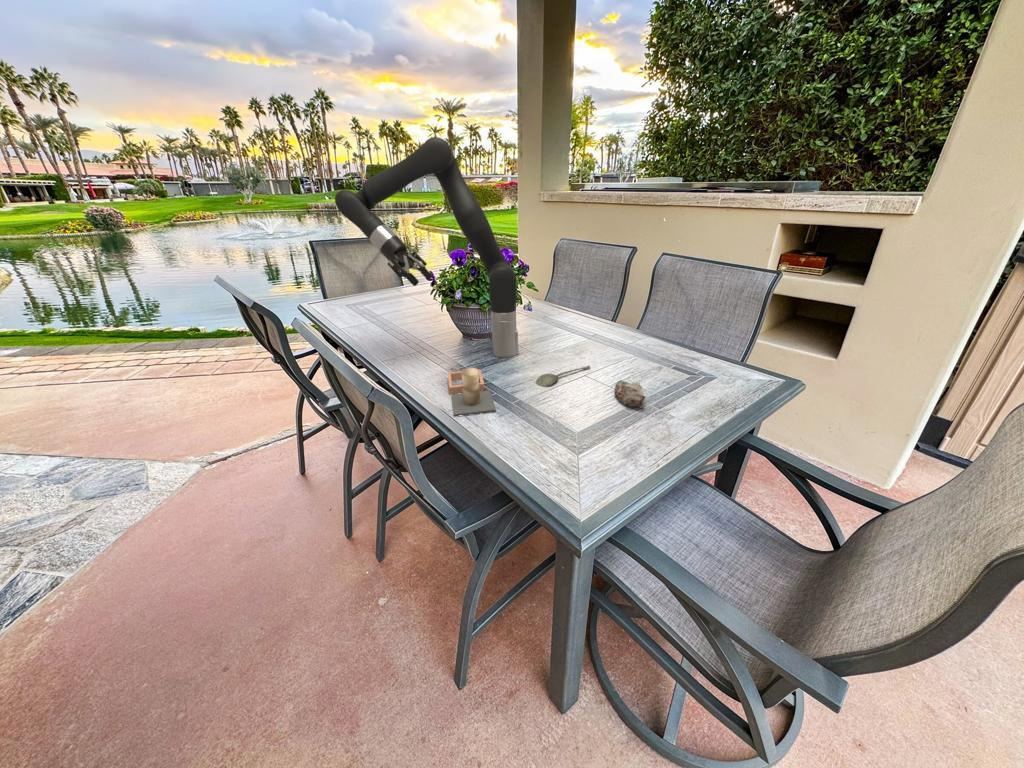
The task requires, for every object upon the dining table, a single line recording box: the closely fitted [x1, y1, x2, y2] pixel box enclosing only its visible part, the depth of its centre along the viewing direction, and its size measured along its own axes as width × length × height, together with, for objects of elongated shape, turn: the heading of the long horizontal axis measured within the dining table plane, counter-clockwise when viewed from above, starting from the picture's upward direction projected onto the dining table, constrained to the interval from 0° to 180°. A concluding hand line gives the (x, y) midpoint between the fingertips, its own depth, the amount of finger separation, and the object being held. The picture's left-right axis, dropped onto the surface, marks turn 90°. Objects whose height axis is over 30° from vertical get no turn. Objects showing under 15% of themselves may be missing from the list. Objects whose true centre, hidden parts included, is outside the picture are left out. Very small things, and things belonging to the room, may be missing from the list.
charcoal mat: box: [451, 390, 497, 417], centre depth 117 cm, size 12×12×1 cm
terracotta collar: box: [447, 368, 486, 395], centre depth 128 cm, size 11×11×2 cm
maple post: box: [461, 367, 480, 406], centre depth 115 cm, size 5×5×10 cm
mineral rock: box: [613, 379, 646, 409], centre depth 117 cm, size 15×8×4 cm, turn 171°
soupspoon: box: [535, 364, 591, 388], centre depth 132 cm, size 22×3×7 cm
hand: (424, 281), depth 128 cm, fingers open, 8 cm apart
